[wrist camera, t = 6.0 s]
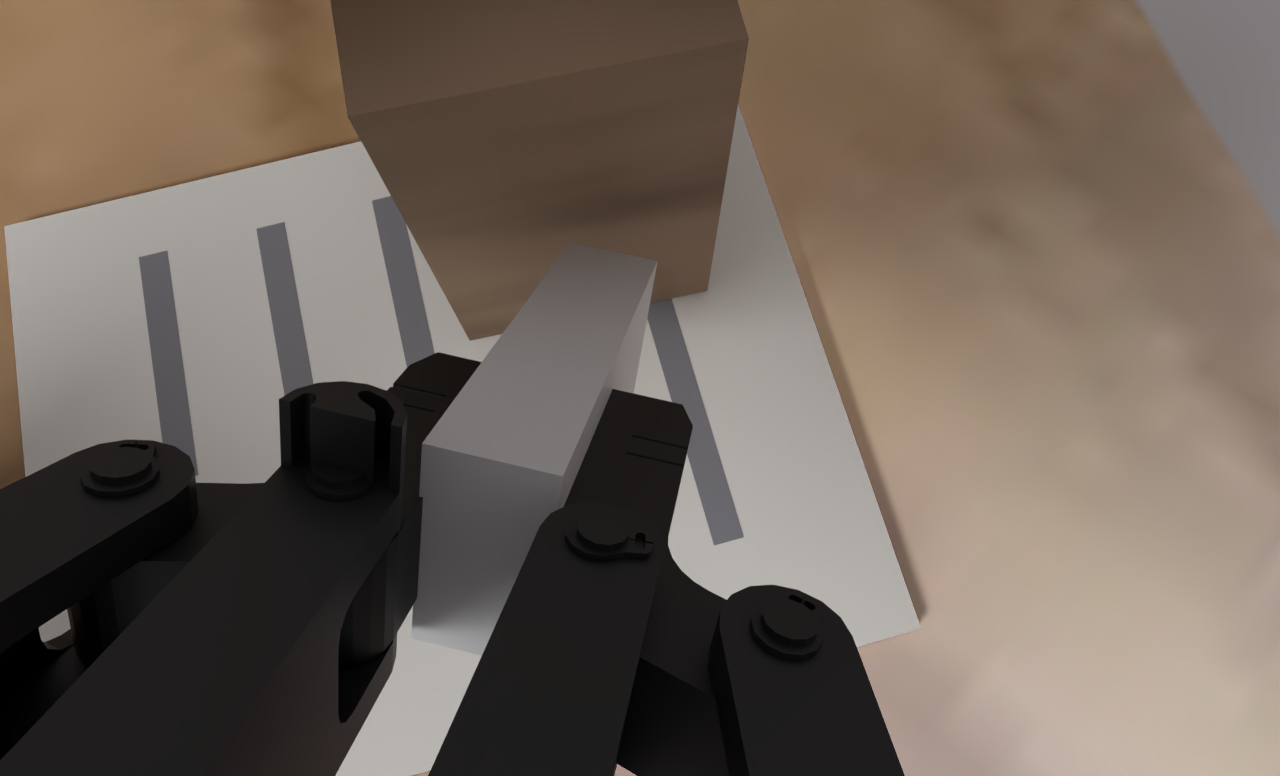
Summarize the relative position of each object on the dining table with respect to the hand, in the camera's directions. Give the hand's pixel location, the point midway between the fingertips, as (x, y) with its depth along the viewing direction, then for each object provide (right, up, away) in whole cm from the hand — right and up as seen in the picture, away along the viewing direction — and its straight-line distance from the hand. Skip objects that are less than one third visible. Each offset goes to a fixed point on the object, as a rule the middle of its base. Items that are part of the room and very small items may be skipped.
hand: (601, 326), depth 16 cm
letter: (-4, -2, +3) cm, 5 cm away
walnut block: (-1, +3, +4) cm, 5 cm away
